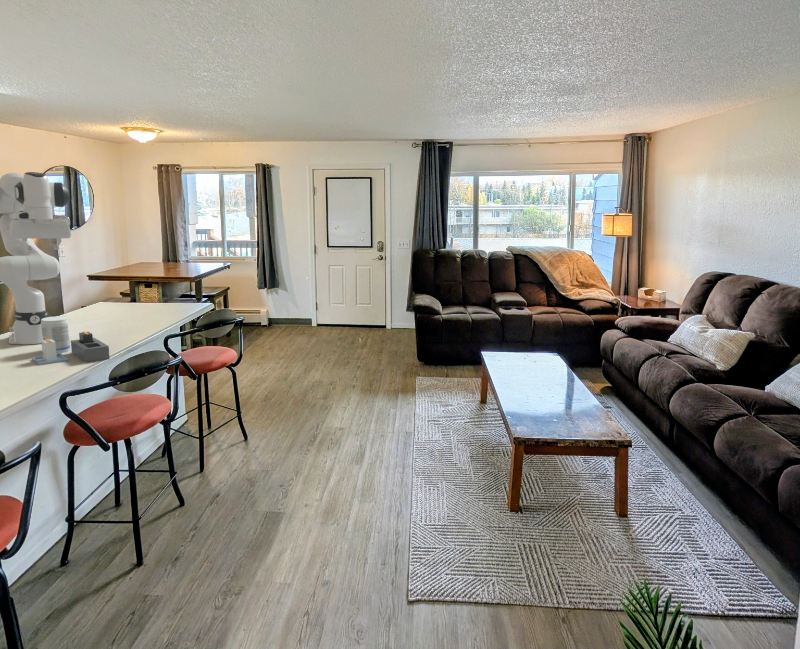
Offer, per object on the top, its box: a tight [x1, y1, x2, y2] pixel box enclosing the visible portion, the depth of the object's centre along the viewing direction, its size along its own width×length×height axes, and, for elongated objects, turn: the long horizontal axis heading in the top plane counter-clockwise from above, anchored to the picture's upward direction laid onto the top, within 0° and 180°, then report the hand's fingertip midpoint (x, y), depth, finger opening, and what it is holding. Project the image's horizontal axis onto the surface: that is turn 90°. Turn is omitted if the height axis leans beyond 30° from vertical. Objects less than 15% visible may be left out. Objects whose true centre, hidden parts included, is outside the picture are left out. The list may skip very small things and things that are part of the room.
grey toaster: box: [70, 331, 110, 363], centre depth 223 cm, size 18×9×10 cm, turn 46°
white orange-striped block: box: [41, 339, 58, 361], centre depth 215 cm, size 5×4×8 cm
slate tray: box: [31, 353, 69, 366], centre depth 215 cm, size 10×10×2 cm
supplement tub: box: [41, 315, 71, 354], centre depth 228 cm, size 10×10×15 cm
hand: (42, 250), depth 213 cm, fingers open, 8 cm apart
